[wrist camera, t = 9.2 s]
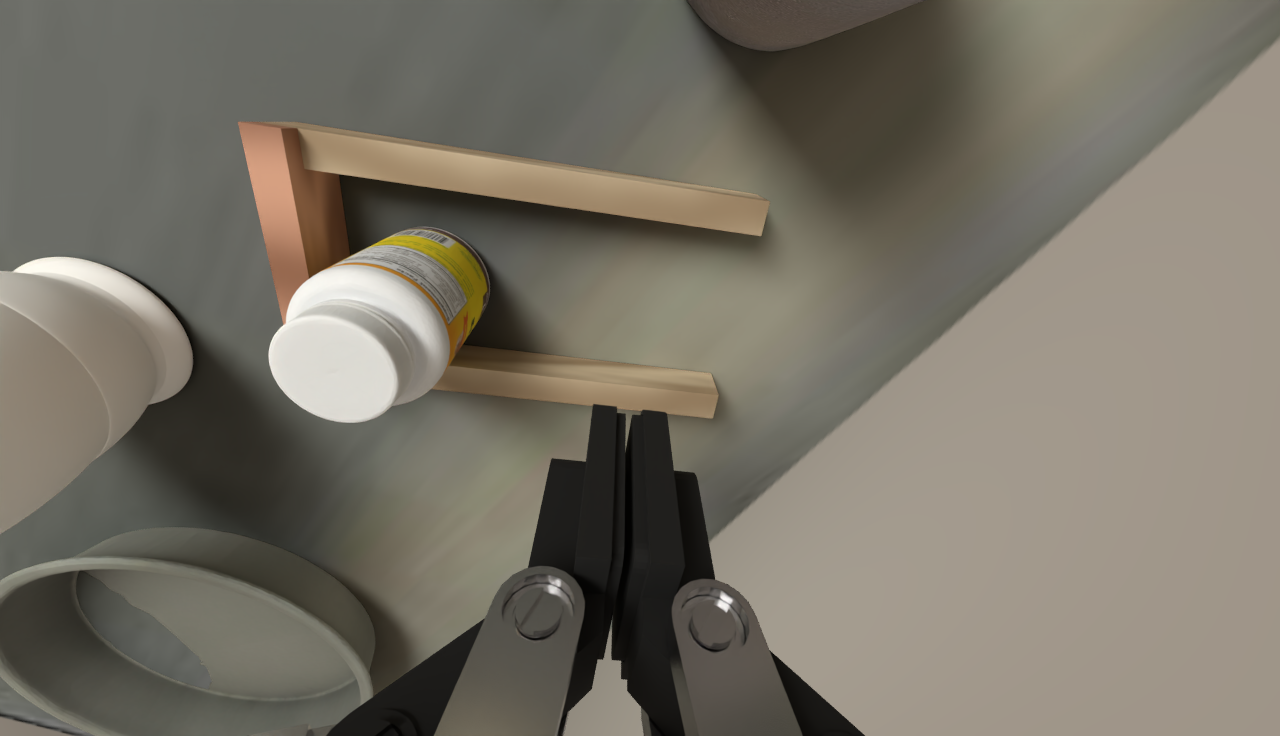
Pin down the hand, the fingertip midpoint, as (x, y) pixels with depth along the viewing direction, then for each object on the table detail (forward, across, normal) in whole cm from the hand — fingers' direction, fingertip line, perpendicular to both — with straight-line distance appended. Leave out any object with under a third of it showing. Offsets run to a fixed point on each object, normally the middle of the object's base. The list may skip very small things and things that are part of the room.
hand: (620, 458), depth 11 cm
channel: (+15, +5, +2) cm, 16 cm away
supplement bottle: (+15, +9, +2) cm, 18 cm away
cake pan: (+14, +26, +33) cm, 44 cm away
